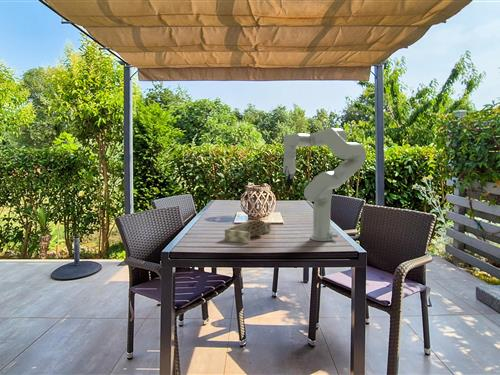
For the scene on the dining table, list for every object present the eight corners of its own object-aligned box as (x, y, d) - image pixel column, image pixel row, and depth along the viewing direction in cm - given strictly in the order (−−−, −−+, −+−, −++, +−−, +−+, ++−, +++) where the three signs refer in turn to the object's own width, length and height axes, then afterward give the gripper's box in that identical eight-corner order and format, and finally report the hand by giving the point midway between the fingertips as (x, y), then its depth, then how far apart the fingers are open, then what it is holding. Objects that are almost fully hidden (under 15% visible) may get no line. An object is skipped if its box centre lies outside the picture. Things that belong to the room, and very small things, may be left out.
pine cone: (262, 233, 199) (261, 217, 198) (269, 236, 190) (269, 219, 189) (228, 237, 189) (228, 220, 188) (234, 241, 181) (234, 223, 180)
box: (270, 232, 200) (270, 222, 200) (249, 243, 176) (249, 232, 175) (248, 229, 208) (248, 220, 207) (224, 240, 183) (224, 229, 182)
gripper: (288, 155, 204) (288, 184, 206) (279, 155, 191) (279, 186, 193) (299, 155, 201) (299, 184, 203) (291, 155, 188) (291, 186, 189)
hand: (289, 185), depth 198 cm, fingers closed
